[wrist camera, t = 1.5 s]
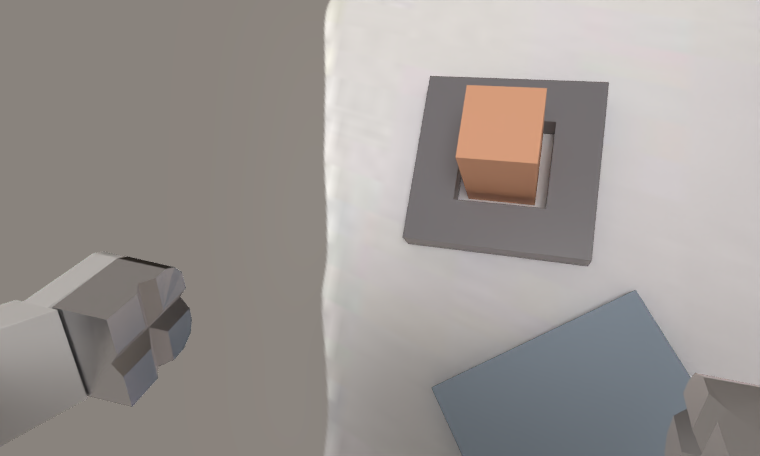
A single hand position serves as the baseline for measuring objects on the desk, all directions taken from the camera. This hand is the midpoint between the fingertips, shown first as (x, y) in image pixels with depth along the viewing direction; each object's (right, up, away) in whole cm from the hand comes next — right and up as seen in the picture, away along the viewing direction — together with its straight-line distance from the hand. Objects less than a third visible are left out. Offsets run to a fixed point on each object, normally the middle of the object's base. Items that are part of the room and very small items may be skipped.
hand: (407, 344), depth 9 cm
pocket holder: (+8, +6, +29) cm, 31 cm away
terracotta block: (+8, +6, +29) cm, 31 cm away
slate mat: (+12, -11, +24) cm, 29 cm away
